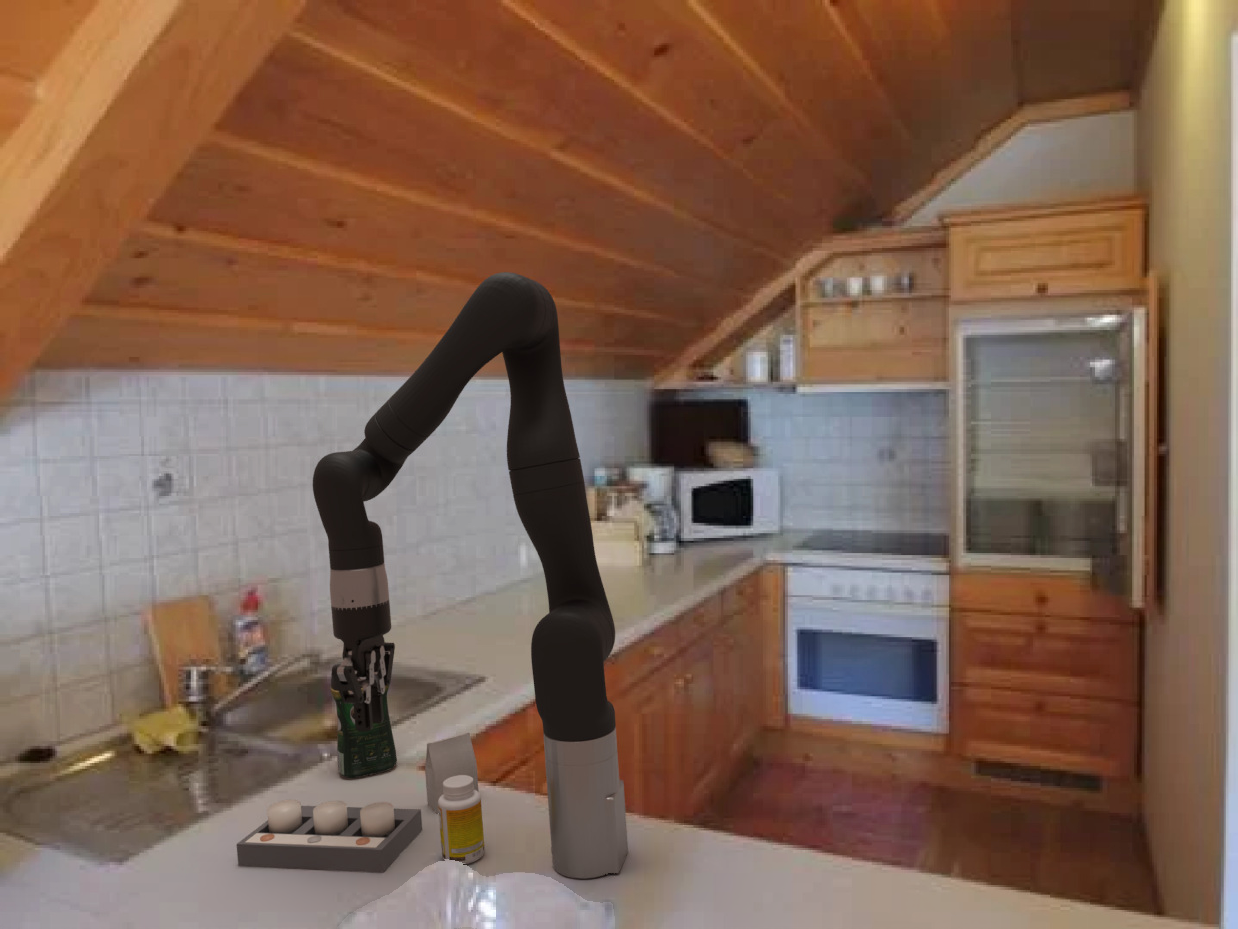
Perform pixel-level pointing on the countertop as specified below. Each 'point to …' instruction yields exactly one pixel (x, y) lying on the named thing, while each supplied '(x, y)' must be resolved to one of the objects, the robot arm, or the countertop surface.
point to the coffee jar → (362, 740)
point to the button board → (330, 845)
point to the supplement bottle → (461, 820)
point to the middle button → (330, 818)
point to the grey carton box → (448, 765)
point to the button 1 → (284, 816)
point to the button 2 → (377, 819)
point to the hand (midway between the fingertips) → (370, 725)
